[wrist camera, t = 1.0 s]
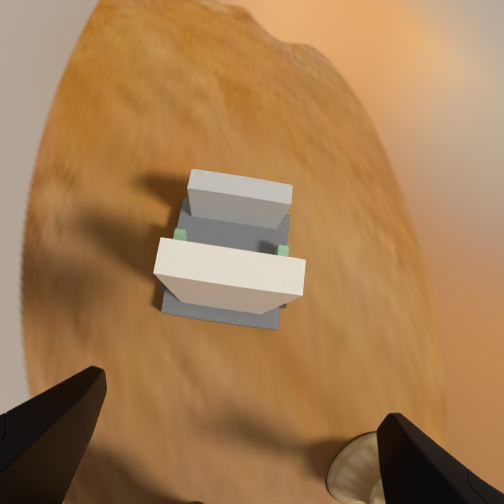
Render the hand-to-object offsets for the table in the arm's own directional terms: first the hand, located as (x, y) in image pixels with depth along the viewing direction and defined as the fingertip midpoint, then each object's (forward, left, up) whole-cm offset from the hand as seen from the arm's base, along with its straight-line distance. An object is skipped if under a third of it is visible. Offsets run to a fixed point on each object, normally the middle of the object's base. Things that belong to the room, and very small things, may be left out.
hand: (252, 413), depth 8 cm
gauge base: (+4, +7, -15) cm, 17 cm away
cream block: (+2, +5, -14) cm, 15 cm away
